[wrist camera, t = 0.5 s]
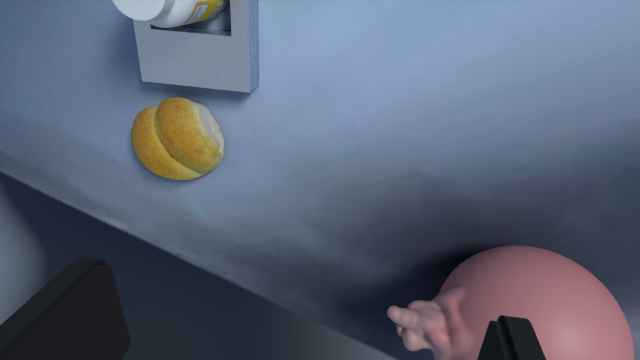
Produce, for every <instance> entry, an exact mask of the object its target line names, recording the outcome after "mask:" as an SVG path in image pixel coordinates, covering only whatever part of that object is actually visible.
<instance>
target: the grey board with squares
mask: <svg viewBox="0 0 640 360" xmlns="http://www.w3.org/2000/svg"><path fill="white" fill-rule="evenodd" d="M230 12H231V32H230V31H219V30H209V29H198V28H187V27H171V28H162V27H157V26H154V25H151V24H149V23H147V22H146V21H137V20H133V24H134V30H135V37H136V43H137V50H138V57H139V63H140V70H141V76H142V81H146V82H155V83H164V84H173V85H183V86H192V87H201V88H210V89H219V90H229V91H238V92H247V93H251V92H252V91H253V90H254V89H256V88H257V87H258V86H259V39H258V0H230Z"/></svg>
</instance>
